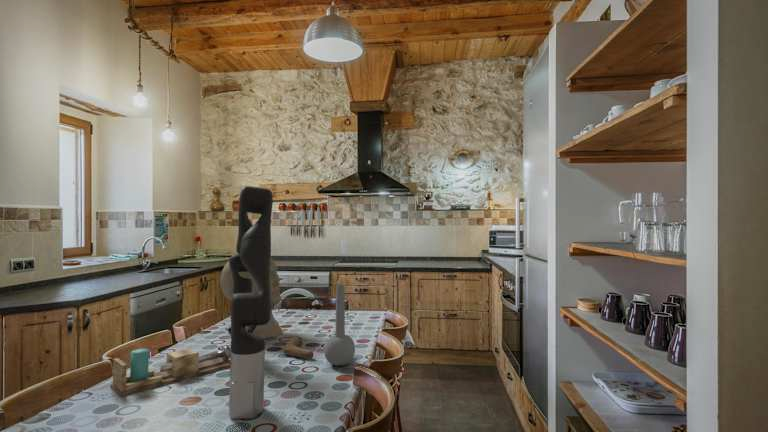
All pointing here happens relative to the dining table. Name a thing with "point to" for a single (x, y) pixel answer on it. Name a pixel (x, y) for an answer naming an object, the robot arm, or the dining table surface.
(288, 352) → the pipe
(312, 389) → the dining table surface
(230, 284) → the bust
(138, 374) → the cylinder
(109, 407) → the dining table surface
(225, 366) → the rig
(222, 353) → the shaft
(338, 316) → the grey ball with stem
